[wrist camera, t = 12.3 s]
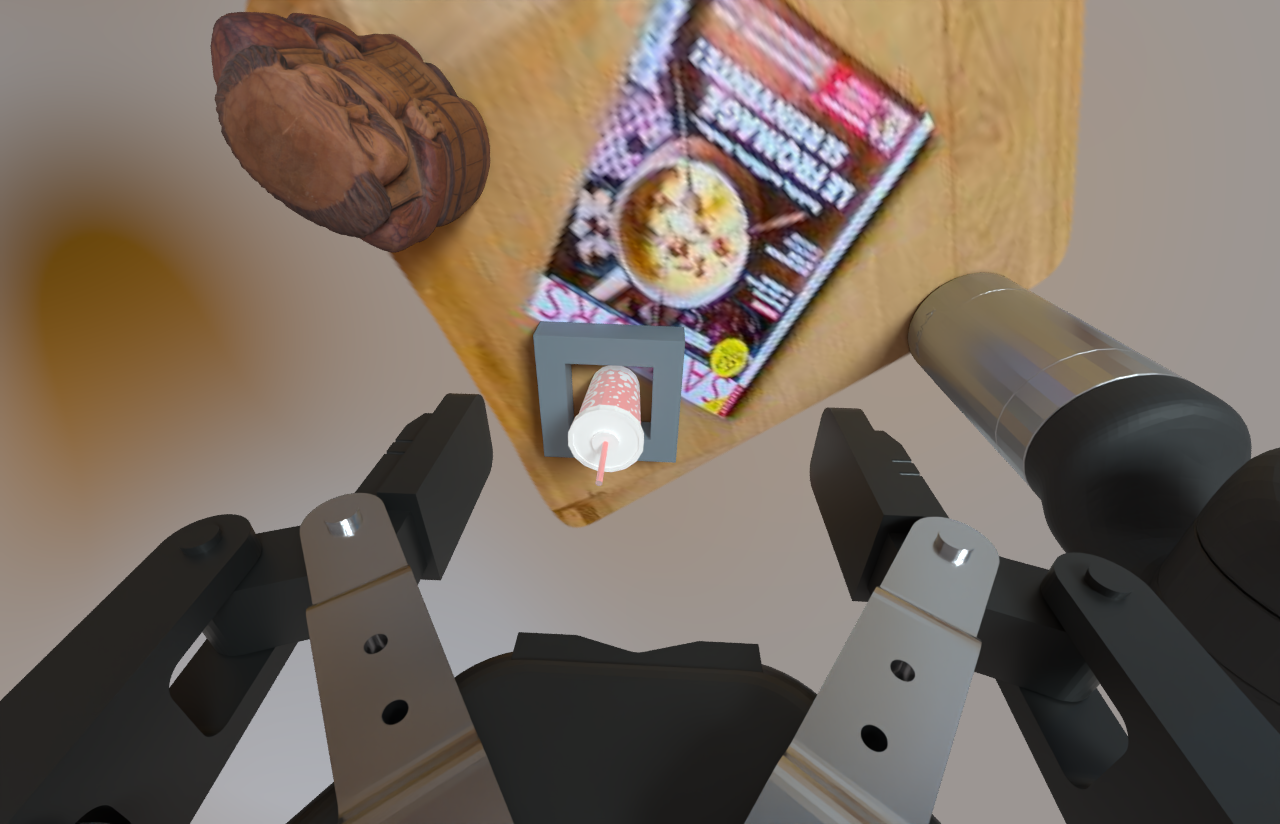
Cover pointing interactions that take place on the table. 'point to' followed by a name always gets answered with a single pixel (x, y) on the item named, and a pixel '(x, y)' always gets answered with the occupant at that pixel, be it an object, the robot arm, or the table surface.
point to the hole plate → (615, 348)
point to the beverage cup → (608, 422)
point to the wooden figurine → (347, 126)
